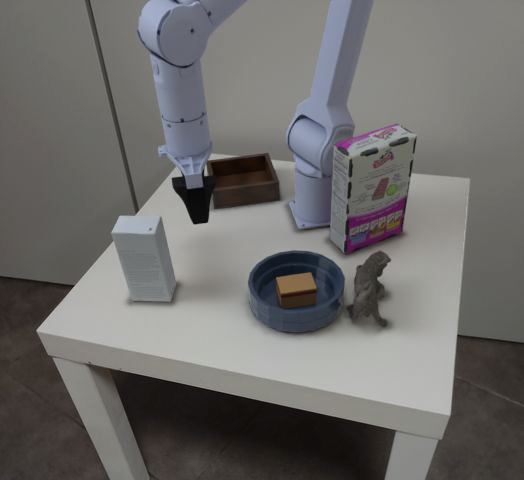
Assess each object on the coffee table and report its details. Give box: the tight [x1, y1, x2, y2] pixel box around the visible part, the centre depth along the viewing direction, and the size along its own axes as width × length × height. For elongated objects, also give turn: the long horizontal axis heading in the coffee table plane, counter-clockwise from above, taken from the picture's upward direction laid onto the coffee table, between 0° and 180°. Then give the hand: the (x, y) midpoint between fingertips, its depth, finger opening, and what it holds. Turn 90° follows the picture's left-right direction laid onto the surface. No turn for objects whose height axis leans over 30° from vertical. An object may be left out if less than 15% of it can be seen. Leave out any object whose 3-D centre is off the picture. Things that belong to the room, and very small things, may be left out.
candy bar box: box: [329, 123, 418, 255], centre depth 81 cm, size 11×5×16 cm, turn 117°
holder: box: [205, 152, 281, 210], centre depth 97 cm, size 12×11×4 cm
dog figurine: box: [346, 250, 392, 326], centre depth 74 cm, size 12×6×7 cm, turn 166°
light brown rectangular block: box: [276, 272, 317, 309], centre depth 76 cm, size 5×4×3 cm
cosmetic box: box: [110, 215, 177, 303], centre depth 76 cm, size 6×4×12 cm
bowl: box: [247, 249, 346, 333], centre depth 76 cm, size 13×13×4 cm
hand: (198, 207), depth 77 cm, fingers open, 7 cm apart
